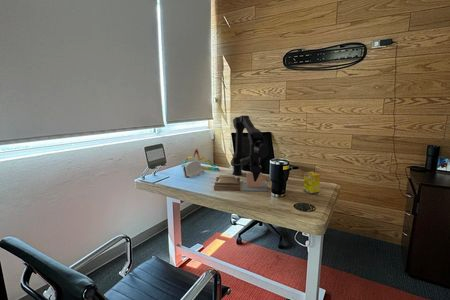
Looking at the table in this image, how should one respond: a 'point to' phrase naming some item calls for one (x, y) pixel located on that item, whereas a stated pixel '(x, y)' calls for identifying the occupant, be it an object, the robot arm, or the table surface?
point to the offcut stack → (228, 179)
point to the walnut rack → (227, 185)
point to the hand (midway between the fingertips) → (254, 178)
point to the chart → (204, 161)
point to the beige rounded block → (192, 169)
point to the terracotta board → (251, 180)
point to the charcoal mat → (254, 187)
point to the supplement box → (311, 182)
